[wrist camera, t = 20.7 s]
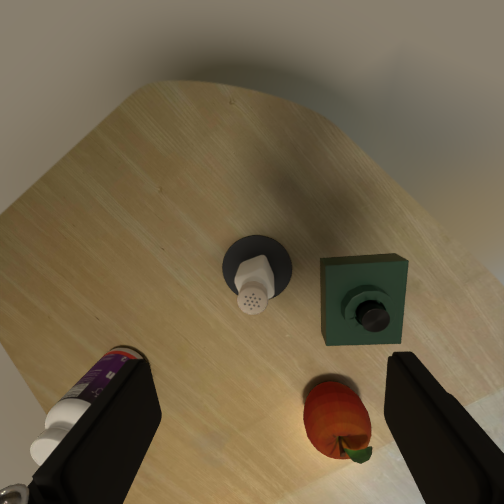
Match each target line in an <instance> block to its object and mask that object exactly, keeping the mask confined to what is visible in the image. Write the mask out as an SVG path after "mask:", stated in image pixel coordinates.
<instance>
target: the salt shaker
mask: <svg viewBox="0 0 504 504" xmlns="http://www.w3.org/2000/svg"><path fill="white" fill-rule="evenodd" d="M235 285H236V287H237V290H238V292H239V294H238V298H237V301H238V306H239V307H240V309H241V310H242V311H243V312H245V313H247V314H250V315H254V314H259V313H261V312H262V311H264V310H265V308H266V306H267V304H268V299H270V298H272V297H273V296H274V292H275V291H274V274H273V272H272V269H271V267H270V265H269V262H268V260H267V257H266V256H265V255H259V256H257V257H254V258H251V259H249V260H246V261H244V262H242V263H241V264H240V265H239V268H238V271H237V273H236V276H235Z"/></svg>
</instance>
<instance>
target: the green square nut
mask: <svg viewBox="0 0 504 504" xmlns="http://www.w3.org/2000/svg"><path fill="white" fill-rule="evenodd" d="M408 262H409V261H408V260H406V259H405V258H403V257H401V256H399V255H397V254H395V253H393V254H378V255H363V256H348V257H332V258H320V274H321V332H322V335H323V338H324V341H325V344H326V346H339V345H373V344H401V337H402V326H403V316H404V305H405V294H406V283H407V273H408ZM365 301H376V302H378V303H379V304H380V305H381V306H382V307H383V308H384V309H385V310H386V312H387V313H388V314H389V316H390V323H389V325H388V327H387V328H386V329H384V330H383V331H380V332H370V331H367V330H366V329H365V328H364V327H363V326H362V324H361V323H360V321H359V320H358V318H357V316H356V310H357V307H358V306H359V305H360V304H361V303H363V302H365Z"/></svg>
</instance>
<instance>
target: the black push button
mask: <svg viewBox="0 0 504 504" xmlns="http://www.w3.org/2000/svg"><path fill="white" fill-rule="evenodd" d="M356 316H357V318H358V320H359V321H360V323H361V324H362V326H363V327H364V328H365V329H366V330H367V331H370V332H380V331H383V330H384V329H386V328H387V327H388V325H389V323H390V316H389V314H388V313H387V312H386V310H385V309H384V308H383V307H382V306H381V305H380V304H379V303H378V302H376V301H365V302H363V303H361V304H360V305H359V306H358V307H357V310H356Z"/></svg>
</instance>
